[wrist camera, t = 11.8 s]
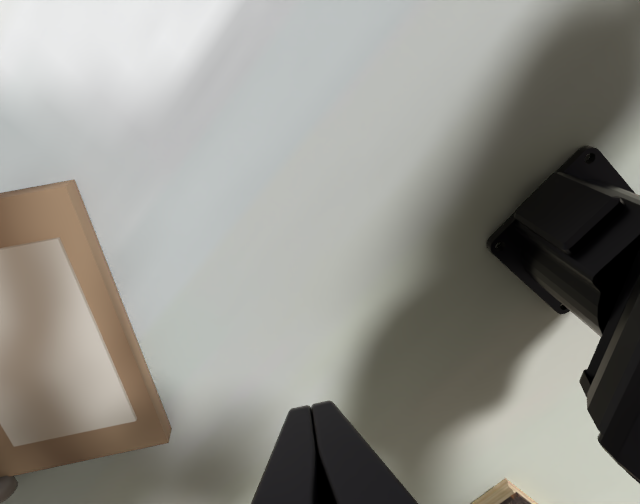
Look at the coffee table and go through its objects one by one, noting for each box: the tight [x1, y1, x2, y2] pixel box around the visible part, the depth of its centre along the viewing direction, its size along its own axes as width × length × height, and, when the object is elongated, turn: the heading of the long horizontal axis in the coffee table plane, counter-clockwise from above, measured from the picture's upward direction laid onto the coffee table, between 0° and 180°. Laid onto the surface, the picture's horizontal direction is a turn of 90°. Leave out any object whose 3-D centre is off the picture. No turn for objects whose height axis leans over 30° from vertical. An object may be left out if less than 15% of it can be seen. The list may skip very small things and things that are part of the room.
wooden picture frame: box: [0, 180, 172, 503], centre depth 21 cm, size 10×16×2 cm, turn 9°
